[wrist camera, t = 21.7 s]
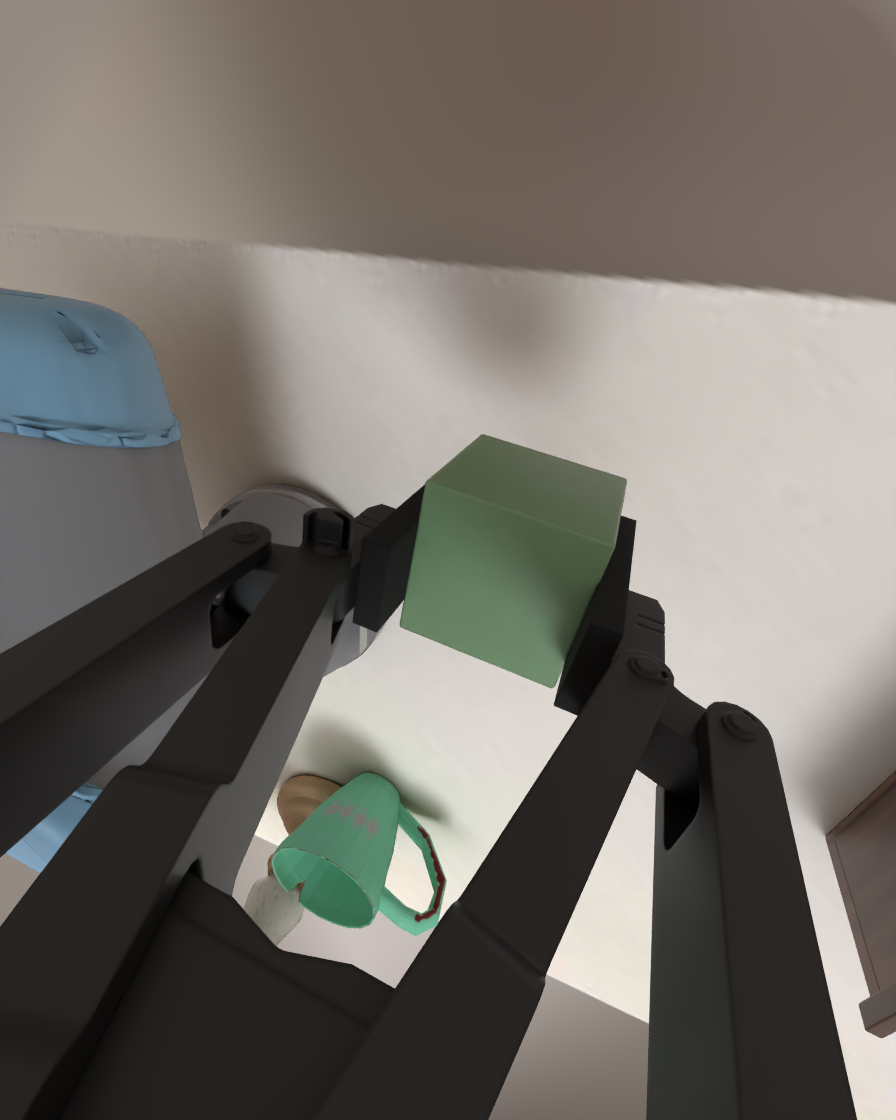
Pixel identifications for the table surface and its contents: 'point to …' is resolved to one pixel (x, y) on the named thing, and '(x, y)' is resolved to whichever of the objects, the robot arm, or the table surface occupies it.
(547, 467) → the block
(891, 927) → the walnut box
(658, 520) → the table surface
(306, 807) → the candle holder
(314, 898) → the mug
